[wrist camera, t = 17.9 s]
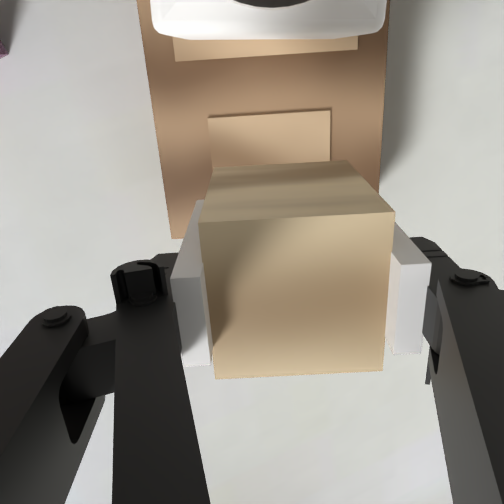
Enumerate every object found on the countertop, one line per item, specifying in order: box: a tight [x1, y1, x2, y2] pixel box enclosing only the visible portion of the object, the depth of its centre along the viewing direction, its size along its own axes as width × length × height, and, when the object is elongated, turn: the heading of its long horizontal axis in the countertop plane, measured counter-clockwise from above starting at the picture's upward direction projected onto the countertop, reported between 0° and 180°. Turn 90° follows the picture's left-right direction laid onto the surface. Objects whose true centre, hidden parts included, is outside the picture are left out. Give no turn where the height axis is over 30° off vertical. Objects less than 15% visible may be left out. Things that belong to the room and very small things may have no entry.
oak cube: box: [198, 160, 395, 379], centre depth 15 cm, size 5×5×6 cm
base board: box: [137, 0, 390, 239], centre depth 24 cm, size 20×12×4 cm, turn 4°
